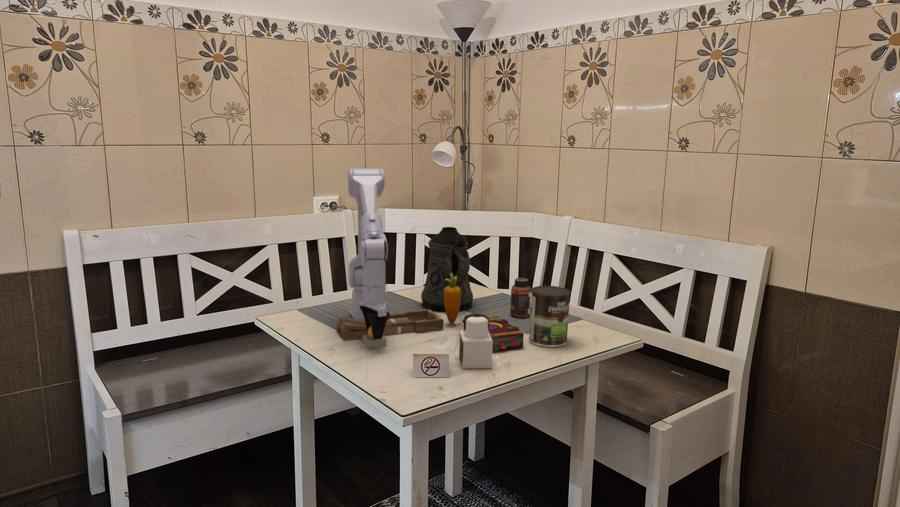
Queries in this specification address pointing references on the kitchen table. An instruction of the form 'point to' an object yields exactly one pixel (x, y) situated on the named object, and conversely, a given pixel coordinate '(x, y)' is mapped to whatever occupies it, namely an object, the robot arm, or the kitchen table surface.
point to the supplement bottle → (520, 298)
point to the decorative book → (504, 335)
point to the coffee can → (549, 316)
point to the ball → (370, 332)
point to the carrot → (452, 299)
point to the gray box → (374, 341)
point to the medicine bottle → (475, 342)
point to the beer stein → (447, 270)
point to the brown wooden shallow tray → (392, 324)
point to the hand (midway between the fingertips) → (374, 334)
